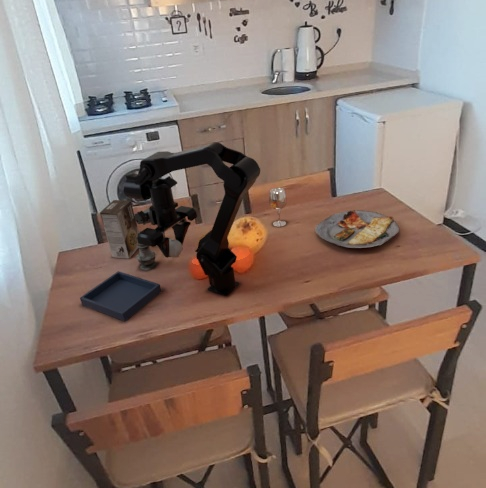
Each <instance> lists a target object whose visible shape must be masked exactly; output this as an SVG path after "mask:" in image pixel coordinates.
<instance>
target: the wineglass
mask: <svg viewBox="0 0 486 488" xmlns="http://www.w3.org/2000/svg"><path fill="white" fill-rule="evenodd" d="M287 198H288V197H287V194H286V191H285V189H284V188H282V187H274V188H271V189H270V190H269V195H268V203H269V206H270V207H271V208H272V209H274V210H276V212H277V217H278V219H277V220H275V221H274V222H273V223H272V225H273V226H274V227H276V228H277V227H278V228H281V227H284V226H286V225H287V222H286V221H285V220H281V216H280V215H281V209H284V208H285V207H286V206H287V202H288V201H287Z"/></svg>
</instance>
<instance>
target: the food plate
mask: <svg viewBox="0 0 486 488" xmlns="http://www.w3.org/2000/svg"><path fill="white" fill-rule="evenodd" d="M314 230H315V233H316V235H318V236H319V238H321V239H323V240H324V241H326V242H329V243H331V244H333V245H335V246H341V247H344V248H351V249H362V248H364V249H365V248H372V247H377V246H378V247H379V246H381V245H383V244H385V243H386V242H388V241H389V240H391V239H392V238H393V237H394V236H396V235H397V234H398V233H399V232H400V226H399V225H398V224H397V221H396V220H395V219H394V216H388V215H385V214H382V213H379V212H377V211H370V210H355V209H353V210H346V211H341V212H338V213H333V214H332V215H329V216H328V217H326V218H325V219H323V220H321V221H320V222H319V223H317V224H316V226H315V229H314Z"/></svg>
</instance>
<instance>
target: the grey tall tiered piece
mask: <svg viewBox="0 0 486 488" xmlns="http://www.w3.org/2000/svg"><path fill="white" fill-rule="evenodd" d="M141 231H142V230H139V233H140V232H141ZM137 242H138V240H137ZM137 247H139V248H138V250H139V253H138V254H137V255H136V257H135V259H136V260H137V261H138V263H139V269H140V270H141V271H150V270H151V271H152V270H154V269H155V268H156V267H157V266H158V262H157V261H156V255H157V254H156V251H153V250H151V248H150V246H147V245H143V244H139V243H138V245H137Z"/></svg>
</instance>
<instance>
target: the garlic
mask: <svg viewBox="0 0 486 488" xmlns="http://www.w3.org/2000/svg"><path fill="white" fill-rule="evenodd" d="M168 238H169V257H168V258H179V257H180V255H181V254H182V251H183V250H184V249H183V245H182V244H181V243H180V242H179V241H178V240H176V239H172V238H170V237H168Z"/></svg>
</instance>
